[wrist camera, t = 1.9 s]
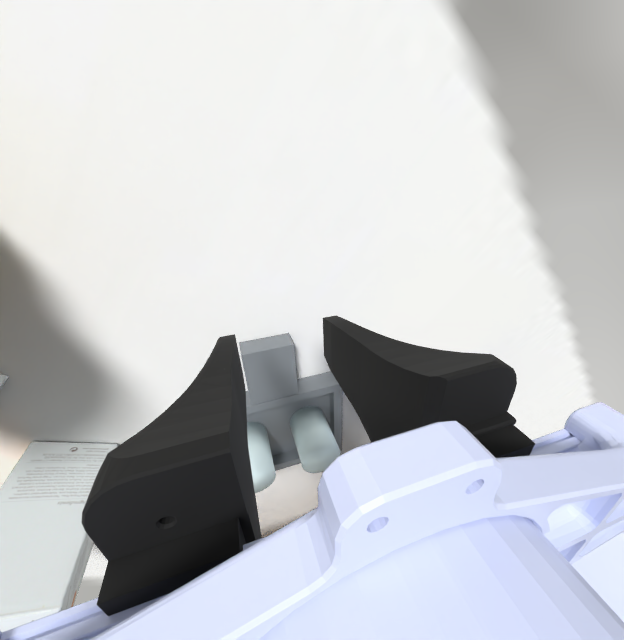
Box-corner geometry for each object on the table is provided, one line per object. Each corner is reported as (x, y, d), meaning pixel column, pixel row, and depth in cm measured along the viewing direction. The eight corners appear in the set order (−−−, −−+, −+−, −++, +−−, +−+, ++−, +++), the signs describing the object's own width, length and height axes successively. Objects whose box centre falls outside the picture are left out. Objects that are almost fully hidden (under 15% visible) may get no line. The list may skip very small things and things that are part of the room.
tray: (334, 324, 24) (361, 358, 20) (335, 435, 31) (355, 479, 27) (185, 353, 21) (178, 400, 17) (221, 469, 28) (223, 524, 24)
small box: (32, 438, 21) (-105, 636, 12) (120, 441, 23) (62, 609, 14) (26, 509, 23) (-91, 717, 14) (106, 506, 26) (48, 683, 17)
